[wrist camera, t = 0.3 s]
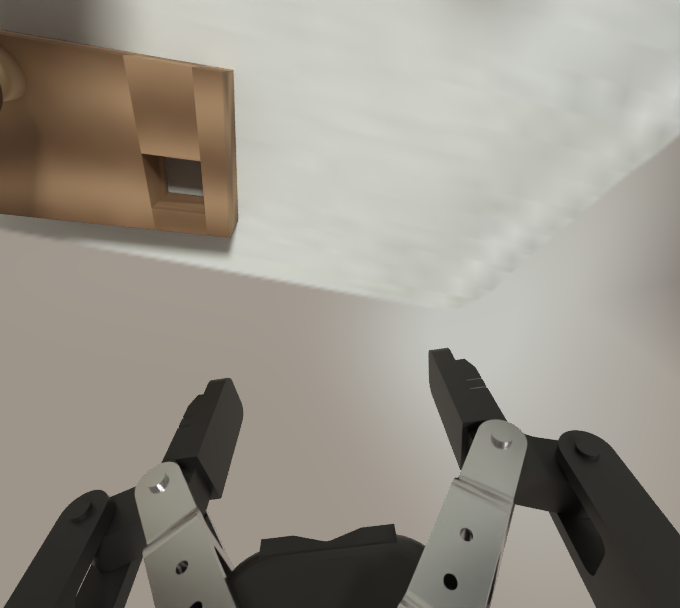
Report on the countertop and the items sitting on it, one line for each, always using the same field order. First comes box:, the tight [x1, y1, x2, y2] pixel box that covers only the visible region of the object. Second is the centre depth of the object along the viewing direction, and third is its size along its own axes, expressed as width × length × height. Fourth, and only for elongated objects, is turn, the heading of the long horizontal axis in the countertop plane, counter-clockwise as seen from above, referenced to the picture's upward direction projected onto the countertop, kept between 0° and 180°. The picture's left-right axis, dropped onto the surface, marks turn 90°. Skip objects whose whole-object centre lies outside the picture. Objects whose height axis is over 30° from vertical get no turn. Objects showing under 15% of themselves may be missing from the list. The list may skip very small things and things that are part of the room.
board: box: [0, 30, 238, 238], centre depth 26 cm, size 12×18×4 cm, turn 82°
